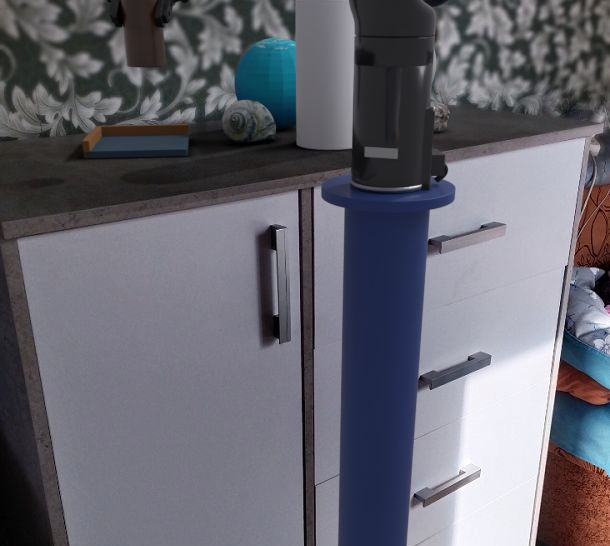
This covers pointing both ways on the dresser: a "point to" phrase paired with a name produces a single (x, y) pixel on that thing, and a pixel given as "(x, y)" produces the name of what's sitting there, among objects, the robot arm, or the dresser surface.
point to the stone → (440, 116)
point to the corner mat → (137, 141)
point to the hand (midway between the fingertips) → (138, 22)
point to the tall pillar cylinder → (324, 74)
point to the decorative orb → (270, 79)
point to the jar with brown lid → (142, 34)
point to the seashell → (248, 122)
